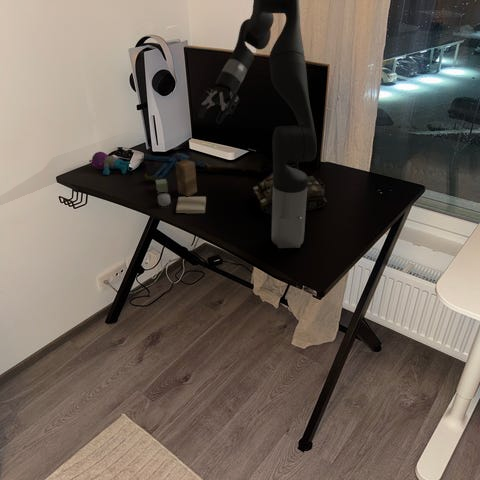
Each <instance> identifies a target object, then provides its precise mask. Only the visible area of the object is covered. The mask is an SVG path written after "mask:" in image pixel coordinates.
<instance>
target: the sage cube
mask: <svg viewBox="0 0 480 480" xmlns="http://www.w3.org/2000/svg"><path fill="white" fill-rule="evenodd" d="M155 186H156V187H155V188H156V192H157V191H158V192H157V194H158V193H159V192H165V193H169V189H168V181H167V179H166V178H164V179H163V178H162V179H161V180H156V182H155ZM159 194H160V193H159Z"/></svg>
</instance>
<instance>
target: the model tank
mask: <svg viewBox="0 0 480 480" xmlns="http://www.w3.org/2000/svg"><path fill="white" fill-rule="evenodd" d="M286 165H287V166H289V164H286ZM290 167H294V169H298V170H299V162H297V163H296V164H290ZM307 177H308V186H307V200H306V211H313V210H314V211H315V210H318V209H320V208H323V207H324V205H325V202H326V203H327V199H326V198H325V192H326V190H325V185H326V182H324V181H323V179H322V178H318V179H316V178H315V177H314V175H310V176H308V175H307ZM252 189H253V190H252V193H253V196H254V197H255V198H256V199H257V200H258V205H259V206H260V209H261V211H262V212H263V213H264V214H267V215H271V216H272V196H273V172H271V173H269V176H267V177H266V178H264V179H263V180H262V181H259V182H258V183H257V185H255V186H253V187H252Z"/></svg>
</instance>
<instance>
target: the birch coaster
mask: <svg viewBox="0 0 480 480" xmlns="http://www.w3.org/2000/svg"><path fill="white" fill-rule="evenodd" d="M206 203H207V196H188V197H186V196H178V198H177V203H176V208H175V213H186V214H205V213H206V206H207V205H206Z"/></svg>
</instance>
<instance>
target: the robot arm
mask: <svg viewBox="0 0 480 480" xmlns="http://www.w3.org/2000/svg"><path fill="white" fill-rule="evenodd" d="M300 10H301V9H300V0H253V4H252V13H251V15H250V17H249V18H247V19H245V20H244V21H243V22H242V23H241V25H240V28H239V33H238V35H237V41H236V45H235V46H234V49H233V52H232V53H231V55H230V57H229V59H228V60H227V62H226V63H225V65H224V66H223V68H222V70H221V72H220V74H219V76H218V77H217V79H216V81H215V87H214V88H213V89H211V88H210V87H209V86H207V87H206V88H205V90H204V91H203V93H202V95H201V97H200V98H199V100H198V102H199V103H200V104H201V106H200V108H199V110H198V112H197V116H198V117H199V118H201V119H203V118H204V117H205V114H206V113H207V111H208V109H210V108H211V106H215V105H217V106H221V107H220V108H221V110H219V113H218V114H217V116H216V118H215V122H216V123H217V124H219V125H220V124H222V123H223V121H224V120H225V117H226V116H227V115H228V114H230V115H233V114H234V112H235V110H236V107H237V105H238V103H239V102H240V98H239V96H238V95H237V92H238V90H239V89H240V86H241V85H242V82H243V81H244V79H245V76H246V74H247V72H248V70H249V68H250V66H251V65H252V62H253V61H254V58H255V55H254V53H253V51H251V49H250V48H249V47H248V46H247V45H246V44H248V45H250V46H251V47H253V48H254V49H256V50H264V49H265V48H266V47H267V46H268V45H269V43H270V41H271V34H272V32H271V28H272V26H273V24H274V14H284V15H285V23H284V25H283V28H282V30H281V32H280V34H279V36H278V37H277V39H276V40H275V42H274V44H273V46H272V48H271V49H270V54H269V56H268V57H269V59H268V60H269V61H268V62H269V71H270V73H269V74H270V79H271V82H272V83H271V84H272V85H273V87H274V88H275V90H276V92H277V93H278V94H279V95H280V96H281V97H282V99H283V100H284V101H285V102H286V104H288V105H289V107H290V108H291V110H292V112H293V114H294V116H295V118H296V121H297V124H298V125H296V124H295V125H293V124H292V125H281V126H277V127H275V129H274V130H273V134H272V141H271V142H272V143H271V144H272V173H273V196H272V215H271V242H272V243H273V244H274V245H275V246H277V248H278V249H296V248H297V249H299V248H301V245H302V244H303V243H304V239H305V226H306V225H305V224H306V214H307V213H306V211H307V210H306V200H307V186H308V177H307V176H308V175H307V173H305V172H304V171H302V170H301V169H299V168H298V169H295V167H294V168H293V167H292V166H290V165H288V164H292V163H293V164H295V163H296V164H297V163H307V162H312V161H314V160H315V159H316V157H317V152H318V141H317V134H316V128H315V123H314V117H313V113H312V108H311V107H312V106H311V104H310V96H309V95H310V94H309V87H308V86H309V85H308V76H307V75H308V74H307V65H306V56H305V51H304V45H303V36H302V28H301V16H300V15H301V13H300V12H301V11H300ZM287 165H288V166H287Z"/></svg>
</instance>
